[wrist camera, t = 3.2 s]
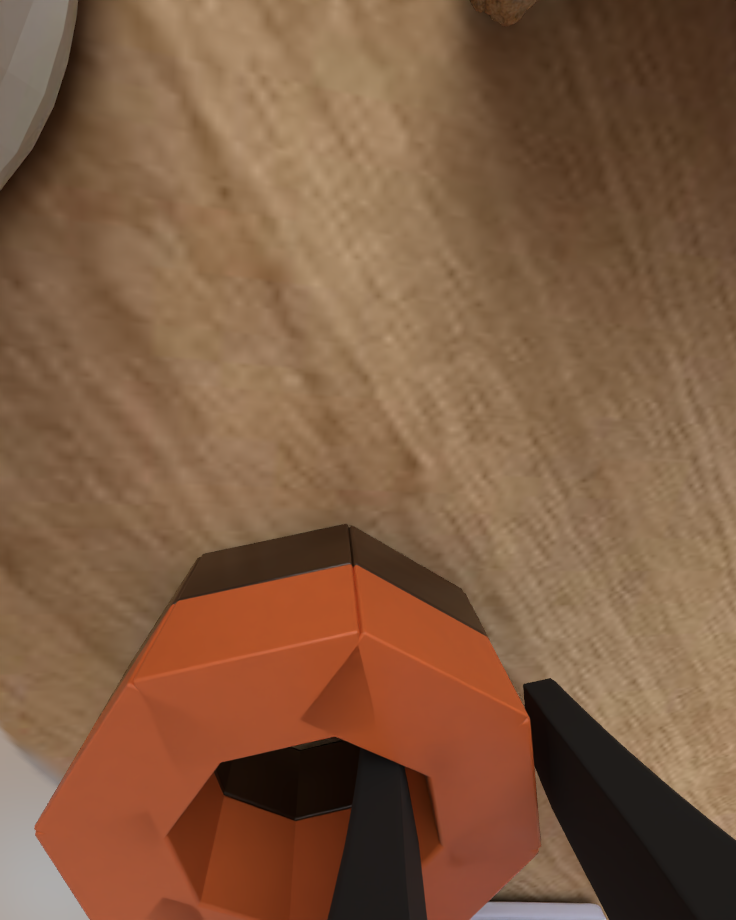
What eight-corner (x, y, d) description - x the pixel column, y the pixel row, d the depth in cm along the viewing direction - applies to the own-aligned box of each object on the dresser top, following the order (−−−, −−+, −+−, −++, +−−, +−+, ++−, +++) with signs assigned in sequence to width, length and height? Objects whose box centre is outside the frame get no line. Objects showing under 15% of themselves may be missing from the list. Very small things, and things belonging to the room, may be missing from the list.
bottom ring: (436, 810, 13) (452, 881, 12) (124, 794, 12) (90, 873, 10) (527, 550, 11) (565, 592, 9) (144, 492, 9) (103, 529, 8)
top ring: (452, 882, 12) (477, 991, 10) (89, 873, 10) (35, 998, 8) (564, 592, 9) (628, 663, 7) (103, 529, 8) (29, 595, 6)
